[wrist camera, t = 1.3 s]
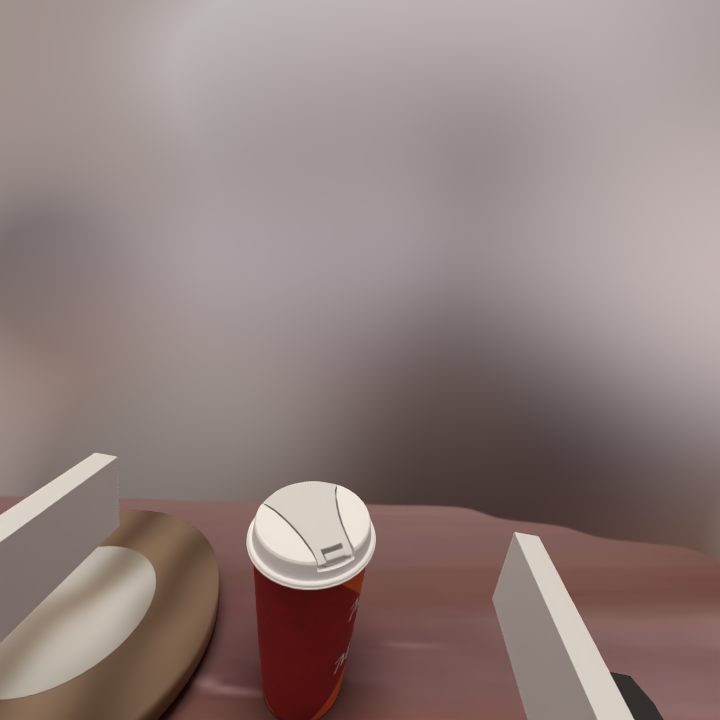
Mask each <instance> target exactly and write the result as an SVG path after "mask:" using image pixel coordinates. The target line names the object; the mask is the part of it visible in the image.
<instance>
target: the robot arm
mask: <svg viewBox="0 0 720 720" xmlns="http://www.w3.org/2000/svg"><path fill="white" fill-rule="evenodd" d="M119 526H120V520H119V489H118V459H117V457H115V456H110V455H104V454H99V453H94V454H93V455H91V456H90V457H88V458H87V459H85V460H84V461H82V462H81V463H79V464H77V465H76V466H74V467H73V468H71V469H70V470H68V471H67V472H65V473H64V474H62V475H61V476H59V477H58V478H56V479H55V480H53V481H52V482H50V483H49V484H47V485H46V486H44V487H42V488H41V489H39V490H38V491H36V492H35V493H33V494H32V495H30V496H29V497H27V498H26V499H24V500H23V501H21V502H20V503H18V504H17V505H15V506H14V507H12V508H11V509H9V510H8V511H6V512H4V513H3V514H1V515H0V643H1V642H2V641H3V640H4V639H5V638H6V637H7V636H8V635H9V634H10V633H11V632H12V631H13V630H14V629H15V628H16V627H17V626H18V625H19V624H20V623H21V622H22V621H23V620H24V619H25V618H26V617H27V616H28V615H29V614H30V613H31V612H32V611H33V610H34V609H35V608H36V607H37V606H38V605H39V604H40V603H41V602H42V601H43V600H45V599H46V598H47V597H48V596H49V595H50V594H51V593H52V592H53V591H54V590H55V589H56V588H57V587H58V586H59V585H60V584H61V583H62V582H63V581H64V580H65V579H66V578H67V577H68V576H69V575H70V574H71V573H72V572H73V571H74V570H75V569H76V568H77V567H78V566H79V565H80V564H81V563H82V562H83V561H84V560H85V559H86V558H87V557H88V556H89V555H90V554H91V553H92V552H93V551H94V550H95V549H96V548H97V547H98V546H99V545H100V544H101V543H102V542H103V541H104V540H105V539H107V538H108V537H109V536H110V535H111V534H112V533H113V532H114V531H115V530H116V529H117V528H118V527H119ZM492 600H493V603H494V606H495V610H496V613H497V617H498V620H499V624H500V627H501V630H502V634H503V637H504V641H505V644H506V648H507V651H508V654H509V658H510V661H511V665H512V668H513V671H514V675H515V678H516V682H517V685H518V689H519V692H520V695H521V699H522V702H523V706H524V709H525V713H526V716H527V719H528V720H663V718H662V717H661V715H660V713H659V711H658V710H657V708H656V706H655V705H654V703H653V702H652V701H651V700H650V699H649V697H648V696H647V695H646V694H645V693H644V692H643V691H642V689H641V688H640V687H639V686H638V685H637V684H636V683H635V681H634V680H633V679H632V678H631V677H630V676H627V675H622V674H617V673H612V672H609V670H608V668H607V667H606V665H605V663H604V661H603V659H602V657H601V655H600V653H599V651H598V649H597V647H596V646H595V644H594V642H593V640H592V638H591V636H590V634H589V632H588V630H587V628H586V626H585V625H584V623H583V621H582V619H581V617H580V615H579V613H578V611H577V609H576V607H575V605H574V603H573V602H572V600H571V598H570V596H569V594H568V592H567V590H566V588H565V586H564V584H563V582H562V581H561V579H560V577H559V575H558V573H557V571H556V569H555V567H554V565H553V563H552V561H551V559H550V558H549V556H548V554H547V552H546V550H545V548H544V546H543V544H542V542H541V540H540V538H539V537H538V536H533V535H528V534H522V533H517V532H514V534H513V537H512V540H511V543H510V547H509V550H508V553H507V556H506V559H505V562H504V565H503V568H502V571H501V574H500V577H499V580H498V583H497V586H496V589H495V592H494V595H493V598H492Z"/></svg>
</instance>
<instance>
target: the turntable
mask: <svg viewBox="0 0 720 720" xmlns="http://www.w3.org/2000/svg"><path fill="white" fill-rule="evenodd" d="M119 520H120V526H119V527H118V528H117V529H116V530H115V531H114V532H113V533H112V534H111V535H110V536H109V537H108V538H107V539H105V540H104V541H103V542H102V543H101V544H100V545H99V546H98V547H97V548H96V549H95V550H94V551H93V552H92V553H91V554H90V555H89V556H88V557H87V558H86V559H85V560H84V561H83V562H82V563H81V564H80V565H79V566H78V567H77V568H76V569H75V570H74V571H73V572H72V573H71V574H70V575H69V576H68V577H67V578H66V579H65V580H64V581H63V582H62V583H61V584H60V585H59V586H58V587H57V588H56V589H55V590H54V591H53V592H52V593H51V594H50V595H49V596H48V597H47V598H46V599H45V600H43V601H42V602H41V603H40V604H39V605H38V606H37V607H36V608H35V609H34V610H33V611H32V612H31V613H30V614H29V615H28V616H27V617H26V618H25V619H24V620H23V621H22V622H21V623H20V624H19V625H18V626H17V627H16V628H15V629H14V630H13V631H12V632H11V633H10V634H9V635H8V636H7V637H6V638H5V639H4V640H3V641H2V642H1V643H0V720H158V719H159V718H160V717H161V715H162V714H163V713H164V712H165V711H166V710H167V709H168V707H169V706H170V705H171V704H172V703H173V701H174V700H175V699H176V697H177V696H178V695H179V693H180V692H181V690H182V689H183V688H184V686H185V685H186V684H187V682H188V681H189V679H190V677H191V676H192V674H193V672H194V671H195V669H196V667H197V666H198V664H199V662H200V660H201V658H202V656H203V654H204V652H205V650H206V648H207V645H208V643H209V641H210V638H211V635H212V632H213V629H214V626H215V622H216V617H217V612H218V605H219V573H218V565H217V560H216V557H215V553H214V550H213V549H212V547H211V545H210V543H209V541H208V540H207V539H206V538H205V536H204V535H203V534H202V533H201V532H200V531H199V530H198V529H196V528H195V527H194V526H193V525H191V524H189V523H187V522H186V521H184V520H182V519H179V518H177V517H174V516H171V515H167V514H164V513H159V512H152V511H139V510H127V511H119Z"/></svg>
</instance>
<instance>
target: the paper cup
mask: <svg viewBox="0 0 720 720" xmlns="http://www.w3.org/2000/svg"><path fill="white" fill-rule="evenodd" d="M375 543H376V535H375V530H374V527H373V524H372V522H371V520H370V515H369V513H368V510H367V508H366V506H365V505H364V503H363V502H362V500H361V499H360V498H359V497H358V496H357V495H355V494H354V493H353V492H351V491H350V490H348V489H346V488H344V487H342V486H339V485H335V484H331V483H325V482H314V481H312V482H311V481H310V482H302V483H296V484H293V485H289V486H286V487H284V488H281V489H280V490H278V491H276V492H275V493H274V494H272V495H271V496H270V497H269V498H268V499H267V500H265V501H264V502H263V504H262V505H261V506H260V507H259V509H258V511H257V514H256V517H255V518H254V519H253V521H252V523H251V525H250V527H249V530H248V534H247V549H248V554H249V556H250V559H251V561H252V562H253V564H254V579H255V596H256V612H257V627H258V642H259V657H260V670H261V681H262V688H263V694H264V698H265V701H266V703H267V705H268V707H269V709H270V710H271V712H272V713H273V714H274V715H275V716H276V717H277V718H279V719H280V720H317V719H319V718H320V717H322V716H323V715H324V714H325V713H326V712H327V711H328V710H329V709H330V708H331V706H332V705H333V703H334V702H335V700H336V698H337V695H338V693H339V690H340V687H341V683H342V679H343V675H344V670H345V666H346V661H347V656H348V652H349V647H350V642H351V637H352V632H353V627H354V622H355V617H356V612H357V607H358V602H359V597H360V592H361V587H362V582H363V577H364V573H365V568H366V565H367V564H368V562H369V561H370V559H371V557H372V555H373V553H374V548H375Z"/></svg>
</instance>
